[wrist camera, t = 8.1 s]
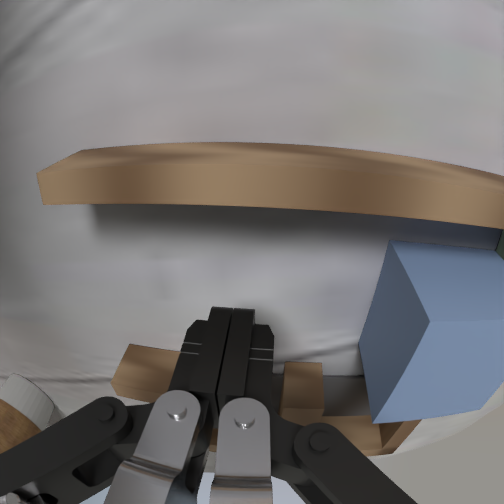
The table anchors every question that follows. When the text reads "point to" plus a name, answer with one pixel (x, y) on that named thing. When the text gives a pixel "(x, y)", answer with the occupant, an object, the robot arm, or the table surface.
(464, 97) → the table surface
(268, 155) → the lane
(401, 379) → the block
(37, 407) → the coffee cup
